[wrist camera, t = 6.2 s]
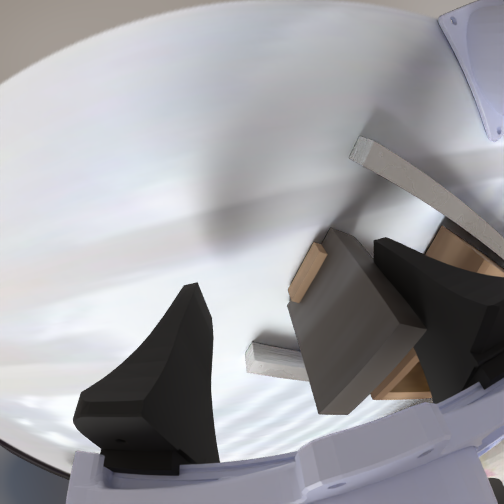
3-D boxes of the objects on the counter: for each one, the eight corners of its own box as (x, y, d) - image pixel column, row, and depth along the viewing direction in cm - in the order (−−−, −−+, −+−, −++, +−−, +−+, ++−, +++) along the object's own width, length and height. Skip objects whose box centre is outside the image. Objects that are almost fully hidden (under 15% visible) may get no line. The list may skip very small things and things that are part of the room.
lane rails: (536, 274, 19) (545, 281, 18) (461, 376, 25) (466, 385, 24) (359, 135, 12) (374, 140, 11) (245, 354, 18) (246, 372, 17)
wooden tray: (505, 270, 18) (557, 321, 11) (436, 364, 22) (469, 421, 16) (349, 172, 13) (443, 241, 7) (259, 338, 17) (277, 443, 11)
